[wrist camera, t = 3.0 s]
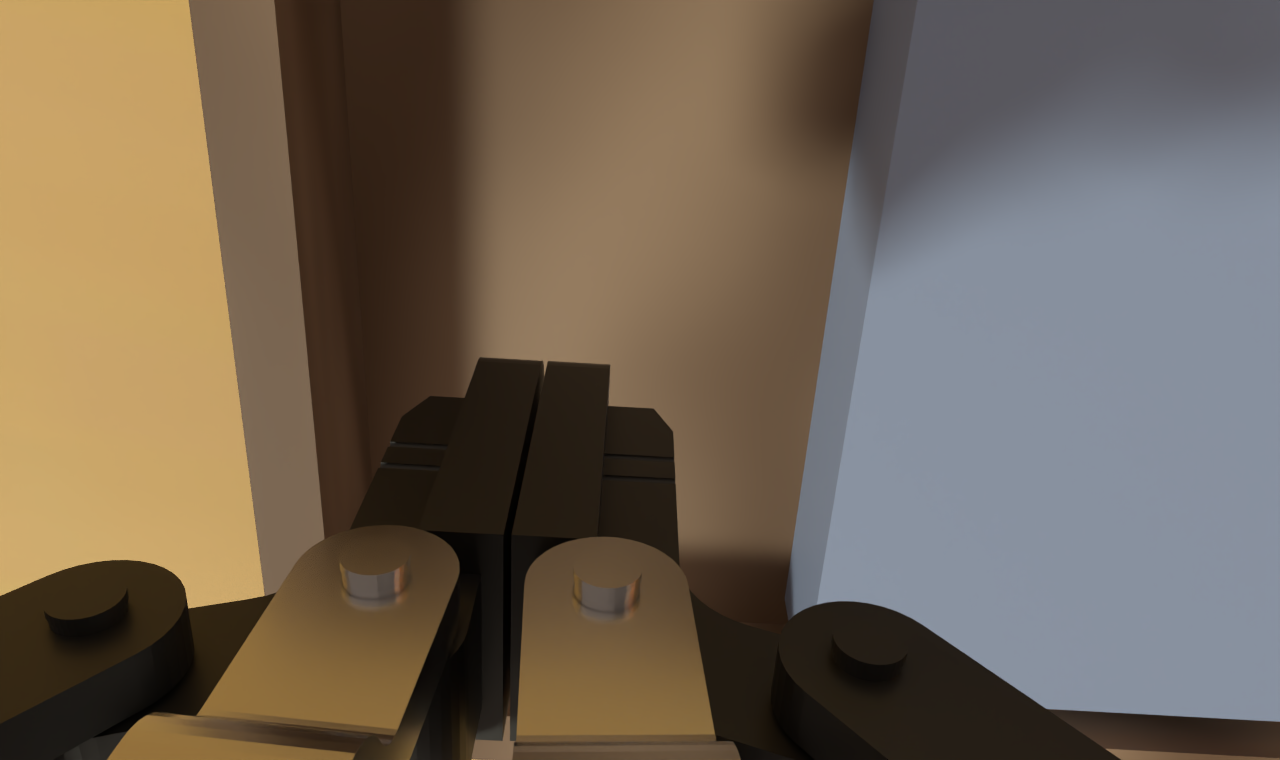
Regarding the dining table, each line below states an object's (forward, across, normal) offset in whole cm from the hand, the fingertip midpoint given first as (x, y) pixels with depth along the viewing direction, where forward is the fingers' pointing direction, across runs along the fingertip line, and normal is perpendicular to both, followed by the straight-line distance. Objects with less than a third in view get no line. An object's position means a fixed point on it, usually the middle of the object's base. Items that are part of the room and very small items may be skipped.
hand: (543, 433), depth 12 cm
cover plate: (+5, -9, 0) cm, 10 cm away
